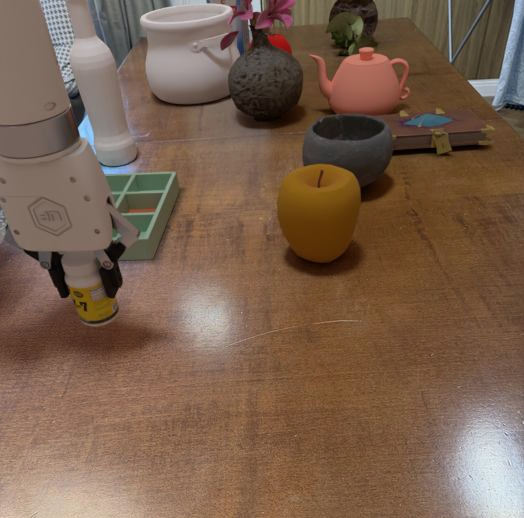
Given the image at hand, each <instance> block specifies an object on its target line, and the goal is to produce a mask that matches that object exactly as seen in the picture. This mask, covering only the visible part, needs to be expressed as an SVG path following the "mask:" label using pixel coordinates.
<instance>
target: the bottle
mask: <svg viewBox="0 0 524 518" xmlns="http://www.w3.org/2000/svg"><path fill="white" fill-rule="evenodd" d="M64 1H65V5H66V9H67V13H68V16H69V21H70V24H71V28H72V32H73V36H74V41H73V44H72V47H71V49H70V52H69V62H70V70H71V72H72V73H71V74H72V75H73V78H74V81H75V84H76V86H77V90H78V92H79V95H80V98H81V101H82V104H83V106H84V109H85V111H86V115H87V119H88V121H89V123H90V127H91V129H92V132H93V150H94V153H95V155H96V157H97V159H98V161H99V163H100V164H102V165H104V166H108V167H118V166H124V165H127V164H129V163H131V162H132V161H135V159H136V157H137V154H138V152H137V145H136V140H135V138H134V136H133V133H132V132H131V131H130V129H129V126H128V122H127V117H126V112H125V105H124V100H123V95H122V89H121V85H120V84H121V83H120V78H119V74H118V73H119V72H118V68H117V64H116V60H115V58H114V55H113V53H112V51H111V49H110V48H109V47H108V45H106V43H105V42H104V41H103V40H102V39H100V37H99V36H98V35H97V32H96V28H95V25H94V21H93V18H92V17H93V16H92V15H91V11H90V7H89V4H88V0H64Z"/></svg>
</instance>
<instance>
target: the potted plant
mask: <svg viewBox="0 0 524 518" xmlns="http://www.w3.org/2000/svg"><path fill="white" fill-rule="evenodd" d="M378 23H379V11H378V8H377V5H376V3H375V1H374V0H336V1H335V2H334V4H333V5H332V7H331V9H330V12H329V15H328V25H327V27H326V29H325V34H326V35H327V34H331V38H330V39H331V40H334V45H335V46H337V47H340V46H342V47H343V48H348V49H347V50H346V51H344V50H340V51H339V53H338V55H339V56H344V55H346V56H347V55H349V56H351V55H356V54H360V53H359V49H361V48H364V47H371V48H378V46H377V43H376V42H375V41H374V40H373V39H372V37H373V35H374V33H375V32H376V29H377V26H378ZM349 56H348V57H349Z"/></svg>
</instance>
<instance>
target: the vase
mask: <svg viewBox="0 0 524 518" xmlns="http://www.w3.org/2000/svg"><path fill="white" fill-rule="evenodd" d="M252 2H253V0H244V6H245V8H246V9H247V12H244V11H241V10H238V11H236V12H235V13H234V14H233V15H232V16H230V17H229V18H228V20H227V24H228V26H229V25H230V23H231V22H232V20H233V19H234V18H235V17H237V16H238V15H241V16H240V18H241V20H248V22H249V24H248V25H249V31H250V32H251V37H252V39H251V41H252V45H251V47H250V48H249V49H248V50H247V51H246V52H244V53H243V54H242V55H241V56H240V57H239V58H237V60H236V61H235V62H234V64H233V65H232V67H231V69H230V71H229V74H228V85H229V91H230V95H229V96H230V98H231V101H232V102H233V104H234V105H235V107H236V109H237V110H238V111H240V112H241V113H242V114H244V115H246V116H248V117H251V118H252V119H253V120H254V121H255V122H256V123H261V124H262V123H263V124H265V123H275V122H278V121H280V120H281V119H282V118H283V116H285V115H286V114H288V113H289V112H290V111H292V110H293V109H294V108H295V107H296V106H297V105H298V104H299V102H300V99H301V97H302V92H303V84H304V73H303V67H302V66H301V64H300V61H299V60H298V59H297V58H296V57H295V56H294V55H293V54H292V55H291V54H290V53H288V52H287V51H285V50H282V49H280V48H278V47H276V46H274V45H272V44H271V43H270V41H269V38H268V36H267V35H266V34H270V32H271V29H270V28H271V27H272V26H273V25H274V23H275V20H276V21H277V20H278V21H280V22H282V24H283V25H284V27H285V29H286V30H289V28H290V27H291V26H292V25H293V22H294V18H293V17H292V14H293V11H292V9H290V8H292V7H293V6H295V5H296V3H297V2H296V0H266V2H267V8H265V9H264V6H263V5H264V4H263V0H259V4H260V5H259V6H260V11H254V7H253V3H252ZM238 33H239V31H234V32H231V33H229V34H227V35H226V36H225V37H224V38H223V39H222V40H221V42H220V47H221V51H223V50H224V49H226V48H227V47H229V46H230V45H231V44H232V43H233V41H234V39H235V38H236V36H237V34H238Z"/></svg>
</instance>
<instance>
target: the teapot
mask: <svg viewBox="0 0 524 518" xmlns="http://www.w3.org/2000/svg"><path fill="white" fill-rule="evenodd" d="M374 52H375V47H364V48H361V49H359V54H356V55H351V56H347V57H345V58H344V59H343V60H342V62H341V63H340V65H339V67H338V68H337V70H336V72H335V73H334V76H333V78H332V80H331V81H330V80H329V79H328V76H327V68H326V67H327V66H326V62H325V60H324V58H323V57H322V56H319V55H316V54H310V53H309V54H308V55H309V56H310V57H311V58H312V60H314V61H315V63H316V67H317V78H318V79H317V80H318V88H319V91H320V93H321V95H322V96H323V97H324V98H325V99H326V100H327V102H328V105H329V107H330V109H332V110H333V112H334V113H335V115H337V114H363V115H369V116H375V115H389V114H391V113H392V111H393V110H394V109H395V108H396V107H397V105H398V104H399V103H400V102H399V101H404V100H407V99H409V97H410V94H411V90H410V88H409V87H408V86H405V85H406V82H407V80H408V77H409V74H410V67H409V63H408V62H407V61H406V60H405V59H403V58H401V57H400V58H399V57H395V58H393V59H391V60H390V59H389V58H388V56H386V55H384V54H380V53H374ZM394 65H402V66H403V69H404V70H403V75H402V78H401V80H400V83H399V79H398V75H397V74H396V71H395V68H394ZM403 92H406V93H404V94H403Z"/></svg>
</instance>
